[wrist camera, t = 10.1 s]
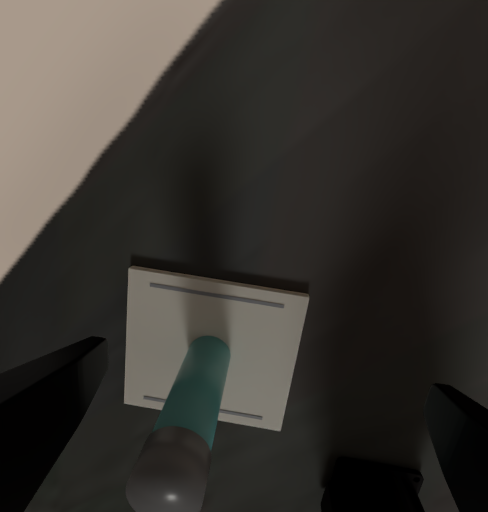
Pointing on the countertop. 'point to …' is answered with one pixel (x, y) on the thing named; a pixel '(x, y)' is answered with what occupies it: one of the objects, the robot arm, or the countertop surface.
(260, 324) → the notepad
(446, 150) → the countertop surface
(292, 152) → the countertop surface
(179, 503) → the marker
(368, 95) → the countertop surface
